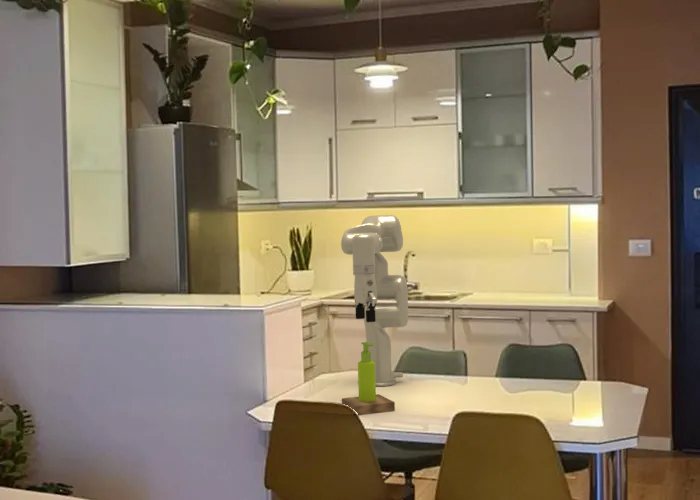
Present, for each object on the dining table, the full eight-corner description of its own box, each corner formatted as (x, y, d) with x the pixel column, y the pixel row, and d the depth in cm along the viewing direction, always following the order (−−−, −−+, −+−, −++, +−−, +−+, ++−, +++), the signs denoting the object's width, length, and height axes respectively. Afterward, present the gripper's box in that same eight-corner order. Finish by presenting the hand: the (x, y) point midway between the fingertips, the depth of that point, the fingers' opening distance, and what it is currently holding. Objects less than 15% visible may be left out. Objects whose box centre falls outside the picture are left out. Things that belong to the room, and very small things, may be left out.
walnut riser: (379, 402, 318) (378, 394, 317) (394, 410, 305) (394, 402, 304) (341, 406, 313) (341, 398, 313) (356, 415, 300) (356, 406, 299)
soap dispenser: (365, 403, 304) (363, 344, 303) (355, 399, 310) (354, 342, 309) (380, 400, 307) (378, 342, 306) (370, 397, 313) (369, 340, 312)
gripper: (384, 271, 300) (385, 322, 301) (365, 268, 316) (366, 316, 317) (363, 272, 297) (364, 324, 298) (345, 269, 313) (346, 318, 314)
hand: (365, 320), depth 307 cm, fingers open, 9 cm apart
